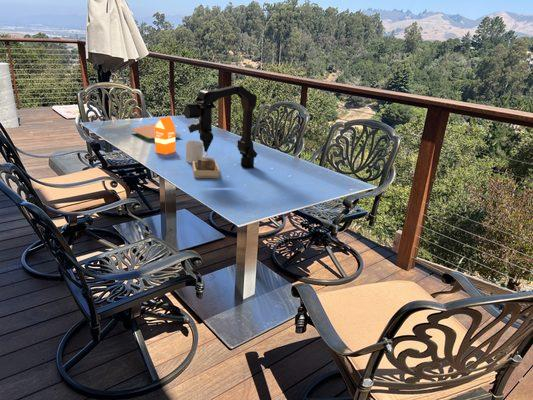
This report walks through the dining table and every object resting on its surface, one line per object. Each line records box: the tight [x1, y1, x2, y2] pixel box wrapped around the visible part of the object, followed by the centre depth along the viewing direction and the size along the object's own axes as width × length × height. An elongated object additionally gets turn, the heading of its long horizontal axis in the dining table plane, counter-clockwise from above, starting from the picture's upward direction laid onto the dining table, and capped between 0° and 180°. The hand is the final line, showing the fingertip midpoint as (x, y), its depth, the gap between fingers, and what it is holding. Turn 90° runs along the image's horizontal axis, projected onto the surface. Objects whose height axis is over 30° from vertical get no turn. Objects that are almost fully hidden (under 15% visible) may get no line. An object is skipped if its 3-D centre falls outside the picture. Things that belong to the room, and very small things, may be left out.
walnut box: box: [197, 157, 216, 171], centre depth 194 cm, size 8×5×7 cm, turn 103°
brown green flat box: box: [130, 123, 182, 143], centre depth 256 cm, size 23×33×8 cm
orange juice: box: [154, 116, 176, 155], centre depth 223 cm, size 8×9×20 cm
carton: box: [192, 161, 221, 179], centre depth 195 cm, size 12×19×5 cm, turn 13°
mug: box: [185, 140, 208, 164], centre depth 211 cm, size 12×9×11 cm
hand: (205, 148), depth 191 cm, fingers open, 9 cm apart
